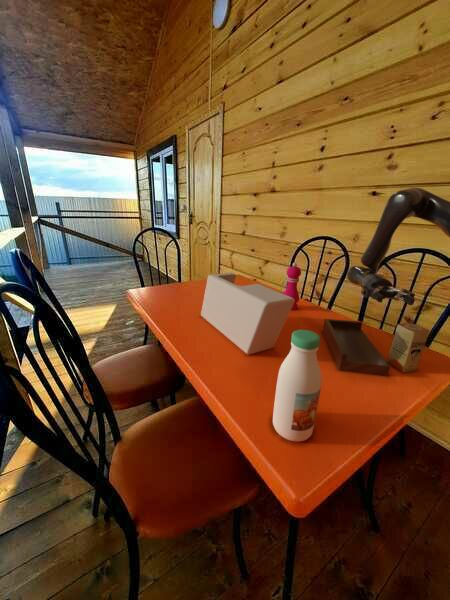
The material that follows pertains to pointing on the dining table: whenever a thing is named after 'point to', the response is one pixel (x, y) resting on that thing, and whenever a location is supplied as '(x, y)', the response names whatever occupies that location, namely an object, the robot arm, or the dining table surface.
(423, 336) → the shoe polish box
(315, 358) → the milk bottle
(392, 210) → the robot arm
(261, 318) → the stepped white block
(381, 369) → the dark brown tray
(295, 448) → the dining table surface
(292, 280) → the pepper mill
